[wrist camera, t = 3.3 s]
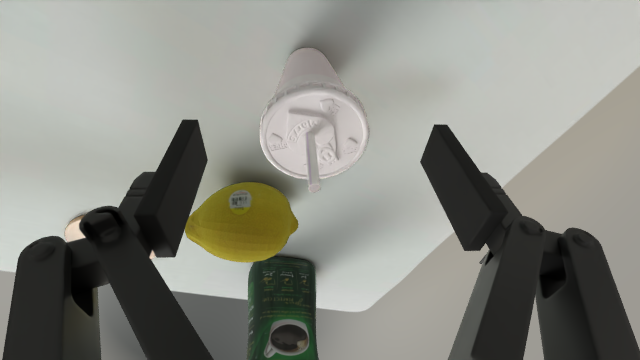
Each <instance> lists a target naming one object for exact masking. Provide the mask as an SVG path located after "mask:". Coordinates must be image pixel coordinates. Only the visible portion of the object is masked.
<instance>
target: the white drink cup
mask: <svg viewBox="0 0 640 360" xmlns="http://www.w3.org/2000/svg"><path fill="white" fill-rule="evenodd" d="M368 140H369V124H368V121H367V114H366V112H365V109H364V107H363V105H362V103H361V101H360V100H359V99H358V98H357V97H356V96H355V95H354V94H353V93H352V92H351V91H349V90H348V89H346V88H345V87H344V85H343V83H342V82H341V80H340V79H339V77H338V75H337V74H336V72H335V71H334V69H333V67H332V66H331V64H330V63H329V61H328V59H327V58H326V56H325V55H324V54H323V53H322V52H320V51H319V50H317V49H314V48H301V49H298V50H296V51H295V52H293V53H292V54H291V55H290V56H289V57H288V59H287V61H286V64H285V67H284V69H283V72H282V75H281V78H280V81H279V84H278V87H277V89H276V92H275V95H274V97H273V98H272V99H271V100H270V101H269V102H268V104H267V106H266V108H265V109H264V111H263V113H262V117H261V122H260V143H261V147H262V150H263V152H264V154H265V156H266V158H267V159H268V160H269V161H270V163H271V164H272V165H273V166H274V167H276V168H277V169H278V170H280V171H281V172H283V173H285V174H287V175H290V176H292V177H296V178H300V179H307V180H308V189H309V191H310V192H313V193H315V192H318V191H319V190H320V189H321V187H320V179H325V178H329V177H332V176H335V175H338V174H340V173H342V172H344V171H346V170H347V169H349V168H350V167H351V166H353V165H354V164H355V163H356V162H357V161H358V160H359V158H360V157H361V156H362V154H363V153H364V151H365V149H366V147H367V144H368Z"/></svg>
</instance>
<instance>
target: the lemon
mask: <svg viewBox="0 0 640 360" xmlns="http://www.w3.org/2000/svg"><path fill="white" fill-rule="evenodd" d="M297 228H298V220H297V219H296V217H295V216H294V214H293V212H292V211H291V208H290V204H289V202H288V200H287V198H286V197H285V196H284V195H283V194H282V193H281V192H280V191H278V190H277V189H275V188H273V187H271V186H269V185H266V184H263V183H257V182H244V183H237V184H233V185H230V186H227V187H225V188H223V189H221V190H219V191H217V192H216V193H214V194H213V195H211V196H210V197H209V198H208V199H207V200H206V201H205V202H204V203H203V204H202V205H201V206H200V207H199V208H198V209H197V210H196V211H195V212H193V213H192V215H191V216H190V217H189V218H188V220H187V223H186V226H185V233H186V235H187V237H188V238H189V239H190V240H191V241H193V242H195V243H197V244H198V245H200V246H201V247H203V248H204V249H205V250H206V251H208V252H209V253H211V254H213V255H214V256H217V257H219V258H222V259H226V260H230V261H235V262H256V261H262V260H266V259H268V258H270V257H273V256H274V255H276V254H277V253H278V252H279V251H281V250H282V248H283V247H284V246H285V244H286V243H287V241H288V238H289V236H290V235H291V234H292V233H294V232H295V231H296V230H297Z"/></svg>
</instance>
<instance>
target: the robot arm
mask: <svg viewBox="0 0 640 360" xmlns="http://www.w3.org/2000/svg"><path fill="white" fill-rule="evenodd" d="M207 161H208V159H207V155H206V151H205V147H204V143H203V139H202V135H201V131H200V127H199V123H198V120H182V122H181V124H180V126H179V128H178V130H177V132H176V134H175V136H174V138H173V139H172V141H171V143H170V145H169V147H168V149H167V151H166V153H165V155H164V157H163V159H162V161H161V163H160V165H159V167H158V169H157V171H156V172H143V173H142V174H141V175H140V176H138V177H137V178H136V179H135V180H134V182H133V183H132V185H131V187H130V190H128V192H127V194H126V197H124V199H123V201H122V202H121V204H120V206H119V208H117V207H113V206H103V207H100V208H97V209H94V210H92V211H90V212H89V213H87V214H86V215H85V216H84V217H83V218H82V219H81V221H80V223H79V230H80V231H81V232H82V233H83V235H84V236H85V237H86V238H82V239H78V240H74V241H70V242H65V241H64V240H63V239H62V238H60V237H58V236H49V237H44V238H41V239H39V240H36V241H34V242H33V243H31V244H30V245H28V246H27V247H26V248H25V249H24V250H23V251H22V252H21V254H20V256H19V258H18V263H17V270H16V276H15V282H14V289H13V295H12V301H11V308H10V314H9V321H8V327H7V334H6V340H5V346H4V352H3V359H2V360H101V348H100V328H99V309H98V289H97V287H99V286H103V285H106V284H109V283H110V285H111V287H112V288H113V291H114V293H115V295H116V297H117V299H118V300H119V303H120V305H121V307H122V309H123V311H124V313H125V315H126V317H127V319H128V321H129V323H130V325H131V327H132V329H133V331H134V333H135V335H136V337H137V339H138V341H139V343H140V346H141V348H142V350H143V352H144V354H145V356H146V357H147V360H213V358H212V356H211V355H210V353H209V352H208V350H207V348H206V347H205V346H204V344H203V342H202V340H201V339H200V337H199V336H198V334H197V333H196V331H195V329H194V328H193V326H192V325H191V323H190V321H189V320H188V318H187V316H186V315H185V313H184V312H183V310H182V309H181V307H180V305H179V304H178V302H177V301H176V299H175V297H174V296H173V294H172V293H171V291H170V289H169V288H168V286H167V285H166V283H165V281H164V280H163V278H162V277H161V275H160V273H159V272H158V270H157V269H156V267H155V266H154V264H153V262H152V261H151V259H150V258H149V257H150V255H151V252H152V250H153V252H154V254H155V256H156V257H157V258H158V257H175V256H176V253H177V250H178V247H179V244H180V241H181V238H182V235H183V232H184V229H185V226H186V223H187V220H188V217H189V214H190V212H191V209H192V206H193V203H194V200H195V197H196V194H197V191H198V188H199V185H200V182H201V179H202V176H203V173H204V170H205V167H206V164H207ZM420 162H421V164H422V166H423V168H424V170H425V172H426V174H427V176H428V178H429V180H430V182H431V184H432V186H433V189H434V191H435V193H436V195H437V197H438V199H439V201H440V203H441V205H442V207H443V209H444V211H445V213H446V215H447V217H448V219H449V221H450V223H451V225H452V227H453V229H454V231H455V233H456V235H457V236H458V239H459V241H460V242H461V245H462V247H463V249H464V251H480V250H481V248H482V247H483V246H484V244H485V243H486V244H487V245H488V247H489V249H490V250H489V251H488V252H487V254H486V255H485V256H484V258H483V259H482V260H481V261H480V264H482V263H483V265H482V267H481V270H480V273H479V276H478V278H477V281H476V284H475V286H474V289H473V292H472V295H471V297H470V300H469V303H468V306H467V308H466V311H465V314H464V317H463V319H462V322H461V325H460V328H459V331H458V333H457V336H456V339H455V341H454V344H453V347H452V350H451V353H450V355H449V358H448V360H523V356H524V351H525V346H526V341H527V336H528V330H529V325H530V320H531V314H532V309H533V304H534V298H535V296H536V303H537V311H538V318H539V325H540V332H541V339H542V346H543V354H544V360H640V350H639V347H638V345H637V342H636V339H635V336H634V334H633V331H632V328H631V325H630V323H629V320H628V317H627V315H626V312H625V309H624V306H623V304H622V301H621V298H620V295H619V293H618V290H617V287H616V284H615V282H614V279H613V276H612V274H611V271H610V268H609V265H608V263H607V260H606V257H605V255H604V252H603V249H602V246H601V244H600V243H599V241H598V240H597V239H595V237H594V236H592V235H591V234H589V233H588V232H586V231H584V230H581V229H578V228H569V229H567V230H566V231H565V232H564V233H563V234H559V233H555V232H551V231H547V230H545V229H544V228H543V226H542V225H541V224H540V223H538V222H537V221H535V220H534V219H532V218H529V217H526V216H522V214H521V213H520V212H519V210H518V209H517V208H516V206H515V205H514V204H513V203H512V201H511V200H510V198H509V197H508V196H507V195H506V193H505V192H504V190H503V189H501V186H500V185H499V183H498V182H497V181H496V179H494V178H493V177H492V176H490V175H489V174H488V173H481V172H480V171H479V169H478V168H477V167H476V165H475V164H474V162H473V161H472V159H471V158H470V157H469V155H468V154H467V152H466V151H465V150H464V148H463V147H462V145H461V144H460V142H459V141H458V140H457V138H456V137H455V135H454V134H453V132H452V131H451V130H450V128H449V127H448V125H434V127H433V129H432V132H431V135H430V137H429V140H428V143H427V145H426V148H425V151H424V153H423V156H422V159H421V161H420Z"/></svg>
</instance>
